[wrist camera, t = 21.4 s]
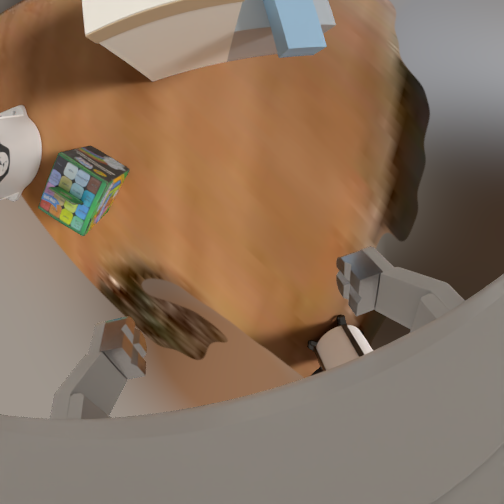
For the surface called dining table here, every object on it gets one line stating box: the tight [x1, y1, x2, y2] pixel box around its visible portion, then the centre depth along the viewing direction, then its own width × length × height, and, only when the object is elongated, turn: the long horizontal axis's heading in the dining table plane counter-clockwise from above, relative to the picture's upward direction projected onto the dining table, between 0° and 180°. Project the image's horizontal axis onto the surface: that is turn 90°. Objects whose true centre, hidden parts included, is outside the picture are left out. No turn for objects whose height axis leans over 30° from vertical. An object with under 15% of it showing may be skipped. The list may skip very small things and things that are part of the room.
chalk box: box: [38, 146, 129, 236], centre depth 34 cm, size 9×9×15 cm
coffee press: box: [307, 315, 373, 376], centre depth 51 cm, size 17×16×30 cm
